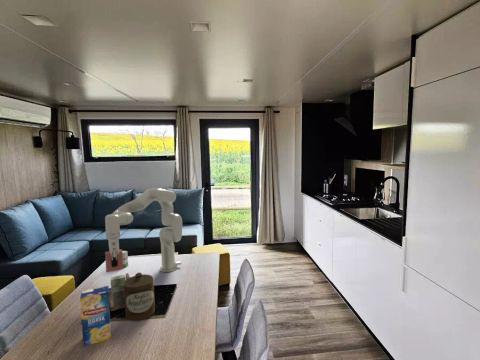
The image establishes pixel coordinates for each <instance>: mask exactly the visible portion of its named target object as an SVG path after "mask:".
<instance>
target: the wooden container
mask: <svg viewBox="0 0 480 360" xmlns="http://www.w3.org/2000/svg"><path fill="white" fill-rule="evenodd" d="M124 290H125V308H124V311H125V312H124V314H125V319H126V320H128V321H131V322H140V321H143V320H146V319H148V318H149V317H151V316H152V315H154V313H155V311H156V301H155V286H154V277H153V276H152V275H150V274H143V273H142V272H137V273H135V275H133V276H131V277H130V278H128V279H127V280H126V281H125V282H124Z"/></svg>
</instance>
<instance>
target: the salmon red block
mask: <svg viewBox="0 0 480 360" xmlns="http://www.w3.org/2000/svg"><path fill="white" fill-rule="evenodd" d="M122 251H123V249H122V248H121V249H119V255H118V254H117V261H118V266H116V267H112V263H111V260H112V256H111V255H110V251H109V250H108V251H105V252H104V255H105V257H104V258H105V272H106V273H109V272H115V271H119V270H124V268H123V257H122ZM112 255H113V254H112Z"/></svg>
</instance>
